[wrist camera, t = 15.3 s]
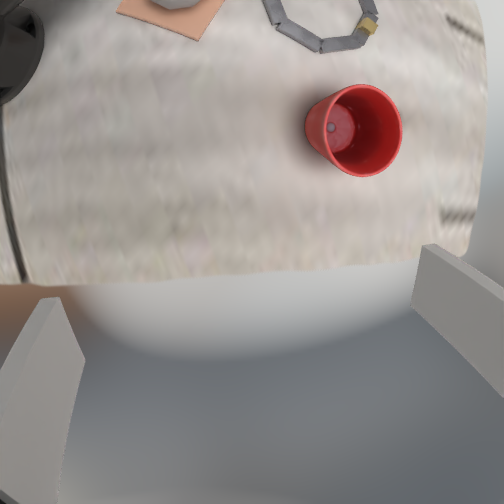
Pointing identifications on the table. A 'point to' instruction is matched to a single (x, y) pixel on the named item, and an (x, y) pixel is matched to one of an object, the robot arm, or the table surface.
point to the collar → (329, 44)
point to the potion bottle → (176, 3)
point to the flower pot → (356, 130)
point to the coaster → (173, 15)
